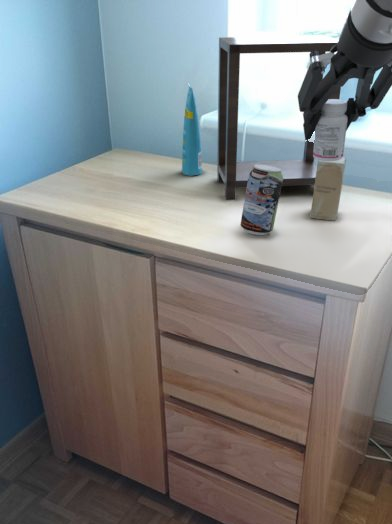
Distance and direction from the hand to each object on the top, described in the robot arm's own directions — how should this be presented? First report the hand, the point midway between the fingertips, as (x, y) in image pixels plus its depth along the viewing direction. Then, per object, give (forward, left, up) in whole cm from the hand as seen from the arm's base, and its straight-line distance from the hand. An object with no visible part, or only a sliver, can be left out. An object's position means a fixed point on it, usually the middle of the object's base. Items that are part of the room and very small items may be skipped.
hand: (322, 131), depth 91 cm
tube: (+40, -22, -18) cm, 49 cm away
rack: (+19, -22, -18) cm, 34 cm away
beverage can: (+9, +3, -18) cm, 21 cm away
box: (+2, -11, -18) cm, 22 cm away
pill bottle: (-2, +3, -3) cm, 5 cm away
